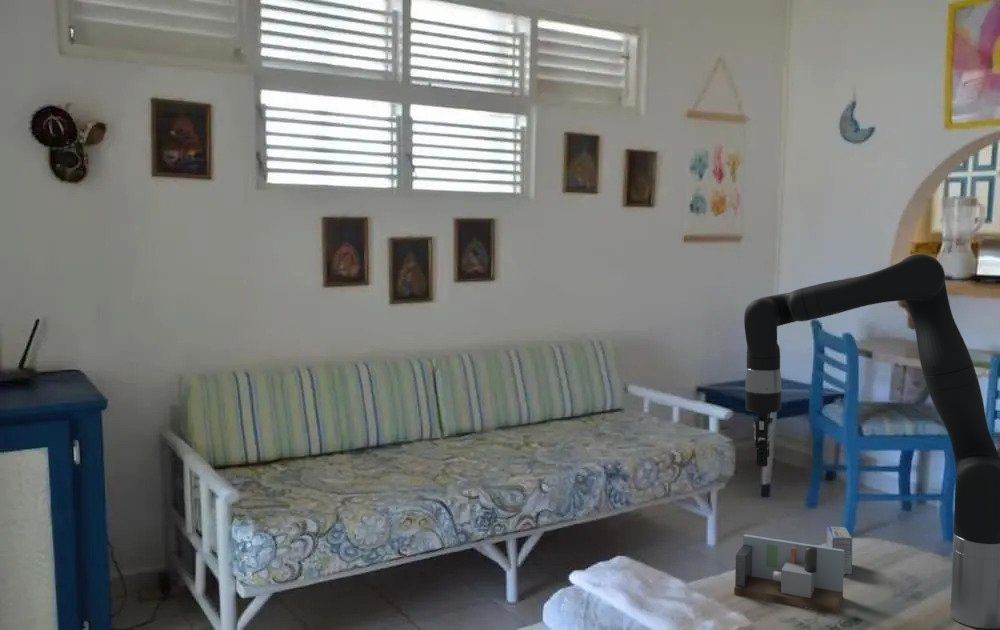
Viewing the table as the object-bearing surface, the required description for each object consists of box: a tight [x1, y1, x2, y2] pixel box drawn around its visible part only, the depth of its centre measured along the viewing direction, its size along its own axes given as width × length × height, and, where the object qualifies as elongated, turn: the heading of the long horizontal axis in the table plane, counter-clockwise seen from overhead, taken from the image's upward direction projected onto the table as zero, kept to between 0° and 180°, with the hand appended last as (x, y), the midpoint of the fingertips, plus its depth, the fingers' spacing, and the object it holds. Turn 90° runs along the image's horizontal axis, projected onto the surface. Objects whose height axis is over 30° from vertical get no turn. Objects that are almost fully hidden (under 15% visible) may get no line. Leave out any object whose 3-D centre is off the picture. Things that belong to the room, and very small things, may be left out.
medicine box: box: [826, 526, 853, 575], centre depth 201 cm, size 8×4×9 cm, turn 168°
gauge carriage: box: [773, 546, 817, 598], centre depth 185 cm, size 9×6×10 cm, turn 61°
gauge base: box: [733, 576, 844, 614], centre depth 186 cm, size 21×9×2 cm, turn 61°
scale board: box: [742, 534, 845, 593], centre depth 189 cm, size 21×1×9 cm, turn 61°
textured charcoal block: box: [734, 545, 752, 588], centre depth 190 cm, size 2×7×7 cm, turn 152°
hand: (763, 461), depth 191 cm, fingers open, 8 cm apart
